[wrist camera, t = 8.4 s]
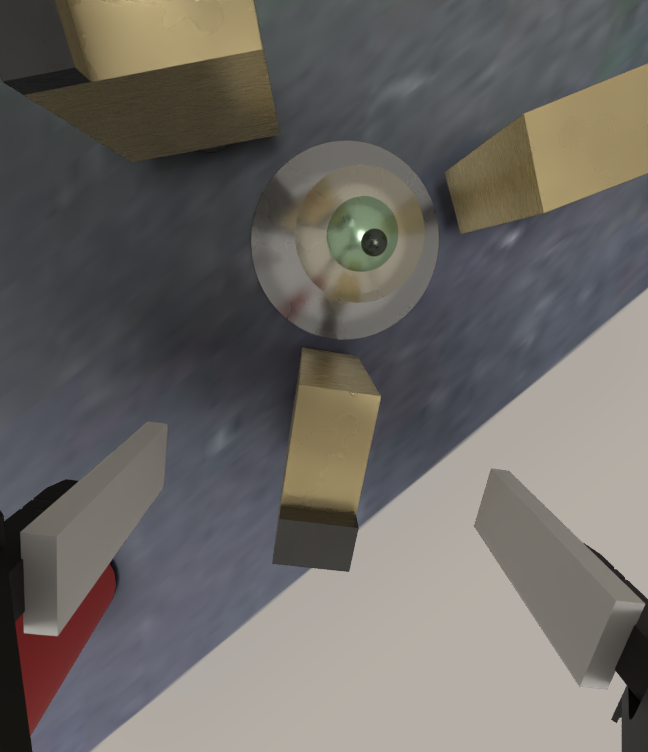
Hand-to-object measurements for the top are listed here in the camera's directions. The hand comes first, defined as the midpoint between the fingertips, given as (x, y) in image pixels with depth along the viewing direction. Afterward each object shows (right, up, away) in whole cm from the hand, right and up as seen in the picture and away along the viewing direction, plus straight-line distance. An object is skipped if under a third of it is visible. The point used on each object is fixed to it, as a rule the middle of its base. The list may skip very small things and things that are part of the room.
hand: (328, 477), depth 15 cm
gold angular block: (-6, +16, +2) cm, 17 cm away
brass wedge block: (0, +2, +6) cm, 6 cm away
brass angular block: (+9, +14, +3) cm, 17 cm away
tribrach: (+3, +12, +6) cm, 14 cm away
